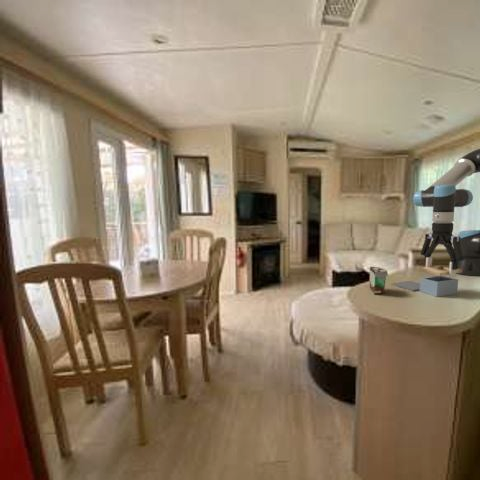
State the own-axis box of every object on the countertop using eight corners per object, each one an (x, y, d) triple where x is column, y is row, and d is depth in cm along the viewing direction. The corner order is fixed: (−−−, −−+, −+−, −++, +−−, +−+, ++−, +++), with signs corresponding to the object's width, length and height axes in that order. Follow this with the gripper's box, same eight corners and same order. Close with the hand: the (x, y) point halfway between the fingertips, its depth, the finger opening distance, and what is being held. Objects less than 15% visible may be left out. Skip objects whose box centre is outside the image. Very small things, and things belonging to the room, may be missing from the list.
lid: (439, 267, 141) (440, 262, 141) (462, 272, 132) (462, 266, 131) (418, 270, 136) (418, 265, 136) (440, 275, 127) (440, 270, 127)
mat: (410, 282, 153) (410, 280, 153) (433, 288, 141) (433, 286, 141) (391, 284, 148) (391, 283, 148) (413, 291, 137) (413, 289, 137)
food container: (390, 296, 131) (391, 272, 129) (374, 295, 132) (375, 272, 131) (383, 288, 143) (384, 266, 141) (368, 287, 144) (369, 266, 143)
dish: (439, 288, 141) (440, 275, 140) (457, 293, 133) (458, 279, 133) (419, 291, 137) (420, 278, 136) (436, 296, 129) (437, 282, 128)
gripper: (412, 221, 140) (410, 269, 143) (463, 224, 119) (460, 281, 122) (425, 220, 143) (422, 268, 146) (477, 223, 122) (473, 279, 125)
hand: (439, 274), depth 134 cm, fingers closed on lid, 10 cm apart
